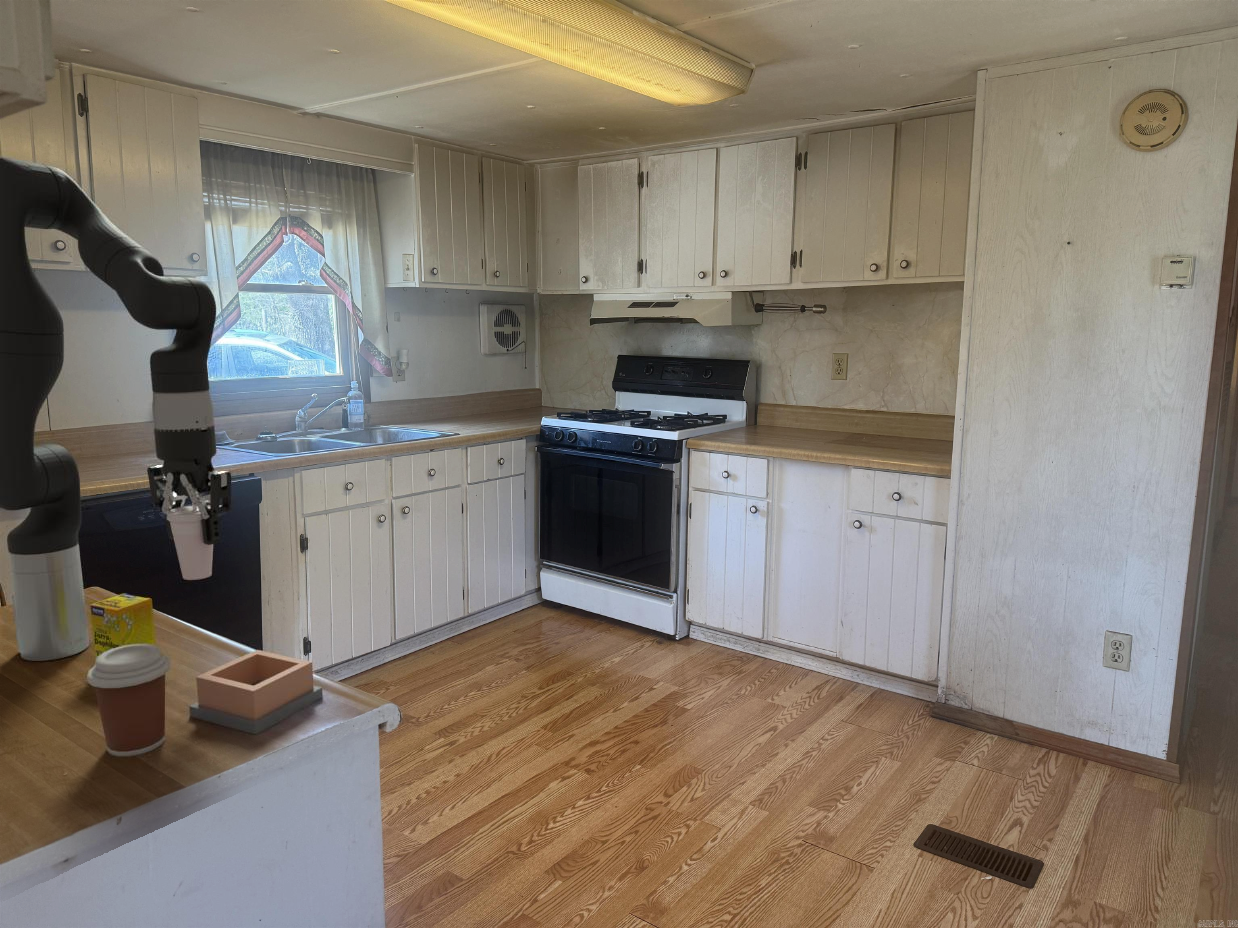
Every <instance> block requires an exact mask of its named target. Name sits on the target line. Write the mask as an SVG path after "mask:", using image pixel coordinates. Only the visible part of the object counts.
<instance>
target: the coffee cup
mask: <svg viewBox="0 0 1238 928" xmlns="http://www.w3.org/2000/svg"><path fill="white" fill-rule="evenodd" d="M94 661H95V662H94V663H95V664H94V665H93V667H92V668H90V669H89V670H88V672H87V676H86V682H87V683H88V684H89V685H90V686H91V687H94V690H95V696H96V700H97V701H96V702H97V704H98V705H97V706H98V709H99V714H100V719H101V724H102V729H103V734H104V739H105V743H106V750H107V753H109V755H110V756H115V757H132V756H138V755H139V756H140V755H143V754H145V753H148V752H151V751H153V750H155V749H157V748H158V747H160V746H161V745H163V743H165V742H166V674H167V672H169V670H171V659H170V658H169V656H167V655H166V654H163V653H161V648H159V646H157V645H156V646H155V645H150V644H132V645H125V646H121V647H117V648H113V649H111V650H108V651H106V652H103V653H102V654H101V655H99V656H98V657H97V658H96V659H95V660H94Z"/></svg>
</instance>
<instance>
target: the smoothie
mask: <svg viewBox="0 0 1238 928" xmlns="http://www.w3.org/2000/svg"><path fill="white" fill-rule="evenodd" d="M191 504H192V505H186V506H185V505H184V506H183V507H179V508H175V509H172V510H169V511H168V512H167V520H168V521H170V524H171V529H172V533H173V537H174V539H173V541H174V545H175V550H176V554H177V557H178V558H177V559H178V562H179V567H180V571H181V575H182V579H184V580H187V581H193V580H194V581H195V580H202V579H207V578H210V577H211V576H212V575H213V574H212V573H213V557H214V556H213V555H214V553H213V551H214V544H211V545H207V544H204V542H203V532H202V520H201V519H204V518H203V517H202V515H201V513H200V511H199V508H198V506H197V505H194V504H193V503H192V502H191ZM207 507H208V509H210V505H207Z"/></svg>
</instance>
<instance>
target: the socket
mask: <svg viewBox="0 0 1238 928" xmlns="http://www.w3.org/2000/svg"><path fill="white" fill-rule="evenodd" d="M313 669H314V668H313V662H312V661H309V660H305V659H301V658H298V657H297V658H296V657H291V656H288V655H287V656H286V655H282V654H278V653H272V652H269V651H264V650H261V649H255V650H254V651H252V652H250V653H247V654H245V655H243V656H239V657H238V658H236V659H234V660H231V661H229V662H227V663H224V664H222V665H220V666H218V667H216V668H213V669H211V670H208V671H207V672H205V673H204V672H203V673H202V674H199V675H197V676H196V677H195V679H196V681H195V682H196V690H197V691H196V692H197V702H195V703H193V704H190V705H188V709H189V716H190V717H192V718H195V719H197V720H198V719H199V720H201V719H202V721H206V722H209V723H212V724H216V725H221V726H224V727H227V728H231V729H235V730H239V731H241V730H242V732H245V733H249V734H252V735H258V734H260V733H261V732H263V731H265V730H266V729H269V728H271V727H272V726H274V725H275V724H278V723H279V722H281V721H283V720H285V719H287V718H288V717H290V716H292V715H294V714H296V713H298V712H299V711H301V710H302V709H304V708H306V707H308V706H310V705H312V704H313V703H315V702H317V701H319V700H320V699H323V695H324V694H323V687H321V686H317V685H315V684H314V671H313Z"/></svg>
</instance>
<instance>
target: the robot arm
mask: <svg viewBox="0 0 1238 928" xmlns="http://www.w3.org/2000/svg"><path fill="white" fill-rule="evenodd" d="M26 228H32V229H37V230H38V229H39V230H41V229H42V230H57V231H59V232H62V233H63V234H66V235H68V236H70V237H71V238H73V239H75V240H76V241H77V250H78V253H79V257H80V259H81V261H82V263H84V265H85V267H86V268H87V269H88V270H89V271H90V272H91V273H92V274H93V275H94V276H95V277H97V278H98V279H99V280H101V281H102V283H104V284H106V286H108V287H109V288H111V290H113V291H115V293H116V294H117V296H118V298H119V300H120V301H121V302H122V304H123V306H124V307H125V309H126V310H127V312H128V313H129V315H130V316H131V318H132V319H133V320H134V321H136V322H137V323H138V324H140V325H142V326H144V327H146V328H148V329H152V330H157V331H158V330H159V331H163V330H164V331H165V330H166V331H167V330H169V331H170V330H171V331H172V330H173V331H174V330H175V334H174V337H173V340H172V343H171V344H170V345H168V346H164V347H161V348H158V349H156V350H154V351H153V352H151V354H150V357H149V368H150V369H149V371H150V378H151V379H150V381H151V389H152V390H151V391H152V401H151V402H152V403H151V405H152V406H151V411H152V412H151V413H152V414H151V415H152V423H153V435H154V444H155V455H156V458H157V459H158V460H160V461H163V463H162V464H161V465H154V466H153V465H152V466H149V467H147V469H146V471H147V477H148V484H149V490H150V496H151V501H152V506H153V508H155V509H161V510H162V511H161V512H162V513H163V514H164V515H165V520H166V532H167V534H168V536H167V537H168V538H169V539H170V540H174V537H173V533H172V529H171V524H170V521H168V520H167V512H168V511H169V510H172V509H175V508H179V507H184V506H185V502H186V499H188V498H190V500H191V504H192V503H193V504H194V505H197V506H198V508H199V511H200V513H201V515H202V517H203V518H204V519H201V520H202V532H203V542H204V544H207V545H211V544H213V545H215V544H217V543H220V541H221V536H222V532H221V522H220V521H221V520H220V519H221V518H220V517H221V516H222V515H224V514H227V513H231V511H232V473H231V472H230V471H229V470H225V471H219V470H216V469H215V468H214V466H213V463H212V459H213V457H214V456H216V455H217V443H216V442H217V440H216V429H215V416H214V407H213V406H214V405H213V402H212V397H211V392H210V379H209V371H208V370H209V368H208V359H209V353H210V349H211V344H212V339H213V333H214V330H215V326H216V325H215V324H216V319H217V304H216V303H217V302H216V300H215V297H214V294H213V292H212V290H211V288H210V287H209V286H208V285H207V283H205V282H204V281H203V280H201V279H199V278H195V277H184V276H183V277H181V276H176V277H175V276H165V274H164V273H165V272H164V268H163V266H162V264H161V262H160V261H159V260H158V258H156V257H155V255H153V254H152V253H151V252H149V251H148V250H147V249H145V248H144V247H143V246H142V245H140V244H139V243H137V241H135V240H133V239H132V238H131V237H129V236H128V235H127V234H125V233H124V232H123V231H122V230H121V229H119V228H118V227H117V226H116V225H115V224H114V223H113V222H112V221H110V219H109V218H108V217H107V215H106V214H104V213H103V212H102V210H101V209H100V208H99V207H98V206H97V205H96V204H95V203H94V201H92V199H91V198H90V196H89V195H87V194H86V192H85V191H84V190H83V188H81V186H80V185H79V184H78V183H77V182H76V181H75V180H74V179H73V178H72V177H71V176H69V174H68V173H66V172H65V171H63V170H62V169H60V168H58V167H55V166H51V165H47V164H44V163H37V162H34V161H33V162H32V161H27V160H21V159H15V158H10V157H3V156H0V508H1V509H3V510H6V511H11V512H12V511H20V510H25V509H30V511H29V513H28V515H27V516H26V517H25V519H24V520H22V522H20V524H18V525H17V526H16V527H14V528H13V529H12V530H10V531H9V533H8V534H7V537H6V543H7V551H8V558H9V559H8V560H9V567H10V573H11V584H12V590H13V591H12V592H13V595H12V596H11V603H12V609H13V610H12V611H13V618H14V626H15V634H16V635H15V636H16V643H17V652H18V653H20V656H21V658H22V659H23V660H25V661H32V662H42V661H52V660H57V659H58V660H59V659H62V658H66V657H70V656H73V655H76V654H78V653H80V652H82V651H84V650H86V649H87V648H88V647H89V645H90V640H89V639H90V638H89V630H88V621H87V612H86V611H87V610H86V608H87V607H86V601H85V593H84V592H85V591H84V581H83V573H82V565H81V564H82V563H81V556H80V555H81V553H80V545H79V532H80V529H81V526H82V503H81V502H82V501H81V500H82V499H81V497H82V496H81V495H82V494H81V480H80V472H79V467H78V465H77V463H76V460H75V457H74V456H73V454H71V452H70V451H69V450H68V449H67V448H65V446H62V445H59V444H56V443H46V444H45V443H43V444H39V445H35V429H36V423H37V419H38V417H39V413H40V412H41V409H42V407H43V405H44V404H45V401H46V399H47V398H48V396H49V395H50V393H51V391H52V390H53V387H54V386H55V384H56V383H57V381H58V378H59V376H60V374H61V372H62V369H63V366H64V360H65V359H64V358H65V337H64V336H65V335H64V334H65V333H64V332H65V331H64V330H65V329H64V326H65V325H64V320H63V317H62V315H61V312H60V311H59V309H58V307H57V305H56V304H55V302H54V300H53V299H52V297H51V296H50V294H49V293H48V291H47V290H46V288H45V287H44V285H43V283H42V282H41V281H40V279H39V278H38V276H37V275H36V273H35V271H34V269H33V267H32V263H30V262H31V261H30V258H29V255H28V249H27V248H28V247H27V244H26V233H25V232H26ZM161 491H162V493H163V494H162V498H161V494H160V493H161ZM205 494H206V495H205ZM220 500H221V503H222V504H221V503H220ZM207 503H208V504H209V506H210V509H208V507H207V506H208V505H207Z"/></svg>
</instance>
